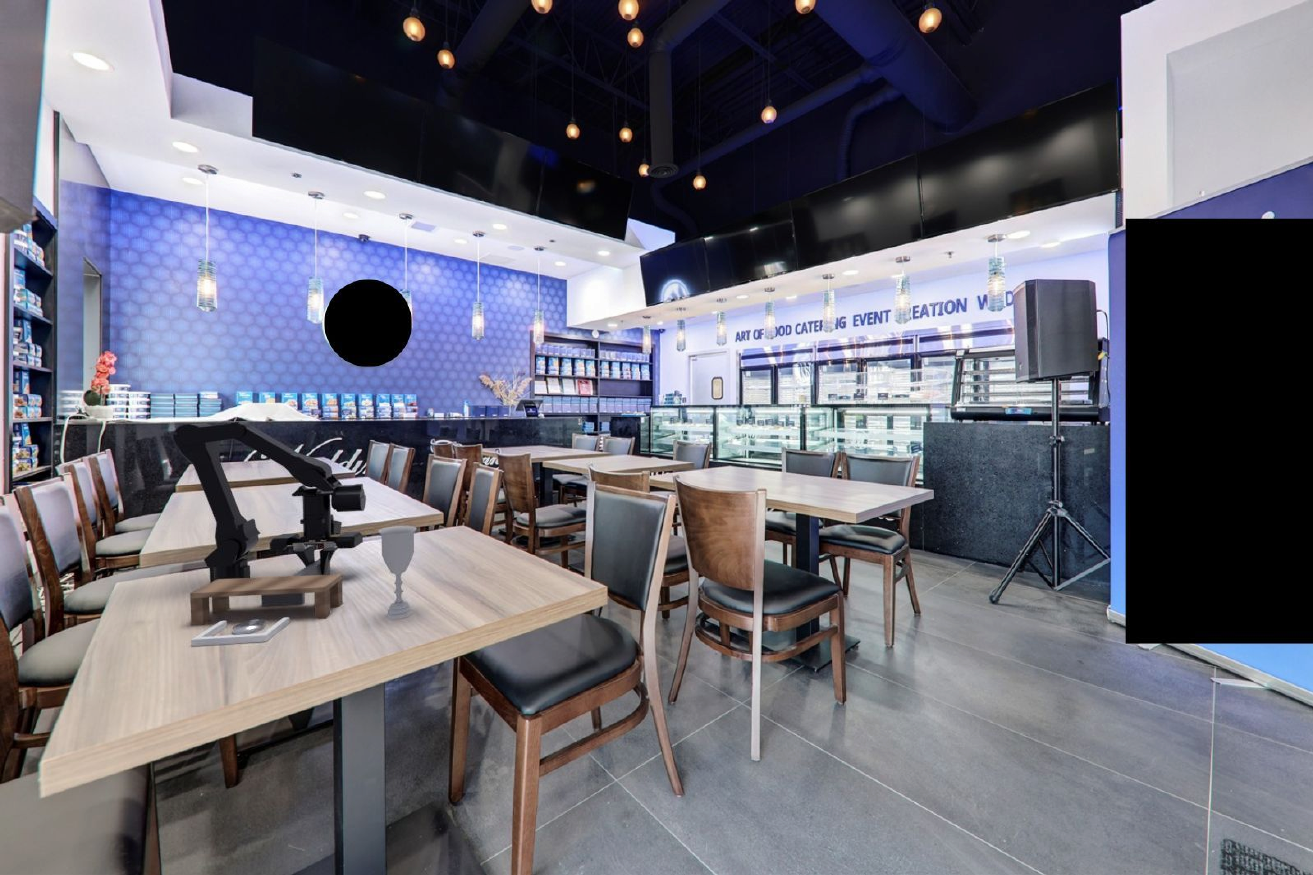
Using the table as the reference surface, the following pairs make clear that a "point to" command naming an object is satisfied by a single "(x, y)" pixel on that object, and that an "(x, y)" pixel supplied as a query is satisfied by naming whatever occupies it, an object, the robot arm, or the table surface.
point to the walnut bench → (266, 593)
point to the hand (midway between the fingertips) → (318, 575)
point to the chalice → (398, 563)
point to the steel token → (249, 627)
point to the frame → (209, 639)
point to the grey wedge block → (295, 597)
